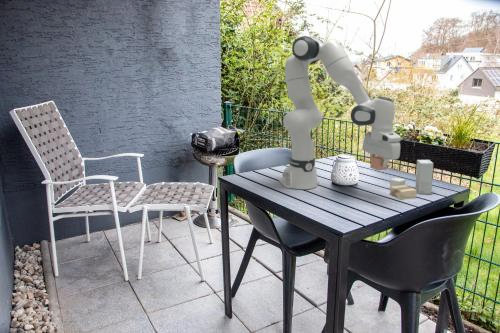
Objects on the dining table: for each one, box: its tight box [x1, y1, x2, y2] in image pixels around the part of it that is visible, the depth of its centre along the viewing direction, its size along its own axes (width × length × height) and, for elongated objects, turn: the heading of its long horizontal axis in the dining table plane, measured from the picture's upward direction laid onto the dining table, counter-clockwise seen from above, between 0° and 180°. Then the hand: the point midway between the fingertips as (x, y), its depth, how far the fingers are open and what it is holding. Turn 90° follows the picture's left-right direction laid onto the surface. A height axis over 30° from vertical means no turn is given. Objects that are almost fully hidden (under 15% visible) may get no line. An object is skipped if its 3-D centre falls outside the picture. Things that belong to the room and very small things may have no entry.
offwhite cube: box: [389, 177, 406, 188], centre depth 183 cm, size 5×5×5 cm
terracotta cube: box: [369, 155, 388, 171], centre depth 169 cm, size 5×5×5 cm
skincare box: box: [414, 159, 434, 195], centre depth 177 cm, size 8×6×15 cm
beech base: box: [389, 184, 418, 200], centre depth 173 cm, size 8×8×4 cm
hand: (378, 165), depth 170 cm, fingers closed on terracotta cube, 5 cm apart
